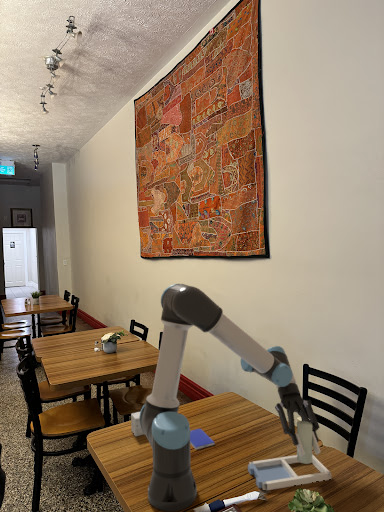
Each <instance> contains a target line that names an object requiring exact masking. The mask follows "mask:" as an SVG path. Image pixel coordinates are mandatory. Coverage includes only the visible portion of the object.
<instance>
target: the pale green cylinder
mask: <svg viewBox="0 0 384 512" xmlns="http://www.w3.org/2000/svg"><path fill="white" fill-rule="evenodd" d="M296 433H298V434H299V437H300V440H301V443H302V446H303V449H304V452H305V454H304V455H303V456H302V457H300V455H299V452H298V449H297V448H296V455H297V460H298V461H299V462H298V463H301V464H304V465H305V464H306V465H309V464H311V463H312V454H313V446H312V424H311V423H310V422H307V421H303V420H299V421H297V422H296ZM312 464H313V463H312Z"/></svg>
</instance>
